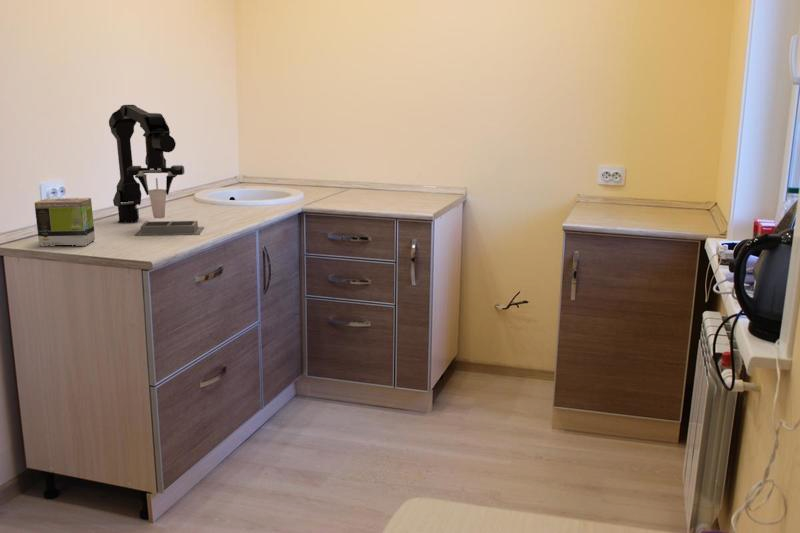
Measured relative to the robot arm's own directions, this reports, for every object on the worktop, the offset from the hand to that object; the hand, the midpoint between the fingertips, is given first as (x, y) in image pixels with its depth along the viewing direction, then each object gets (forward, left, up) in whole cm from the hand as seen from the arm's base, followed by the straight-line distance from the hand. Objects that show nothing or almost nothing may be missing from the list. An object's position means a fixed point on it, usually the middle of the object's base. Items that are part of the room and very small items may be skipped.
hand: (157, 194), depth 278 cm
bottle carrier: (+4, -1, -13) cm, 14 cm away
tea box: (-26, -19, -13) cm, 35 cm away
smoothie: (0, 0, -8) cm, 8 cm away
